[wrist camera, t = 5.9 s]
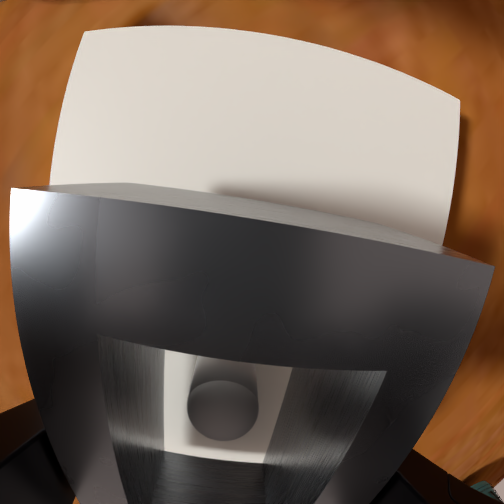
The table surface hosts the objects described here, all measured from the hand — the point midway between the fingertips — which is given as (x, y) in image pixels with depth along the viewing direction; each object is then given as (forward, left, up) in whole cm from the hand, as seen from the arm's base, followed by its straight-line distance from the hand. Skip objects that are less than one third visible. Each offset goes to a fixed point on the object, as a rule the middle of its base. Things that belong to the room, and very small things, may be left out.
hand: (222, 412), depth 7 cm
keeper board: (0, 0, -4) cm, 4 cm away
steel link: (0, 0, -1) cm, 1 cm away
